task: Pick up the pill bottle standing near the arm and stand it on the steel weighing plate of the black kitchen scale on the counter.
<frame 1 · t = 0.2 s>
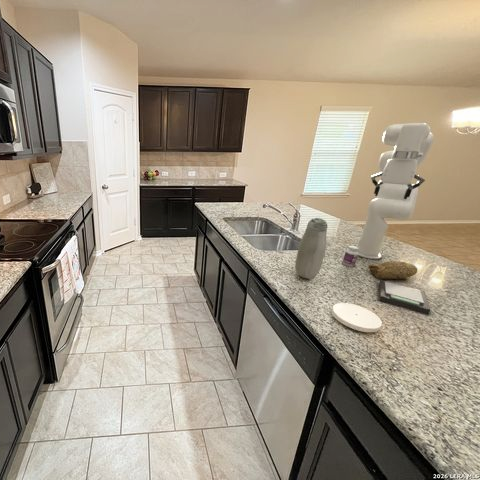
hand: (390, 197, 110), 36 cm above the table, tool pointing down, fingers open, 9 cm apart
pill bottle: (348, 264, 130), on the table
gray vase: (304, 276, 118), on the table
plastic lid: (354, 321, 89), on the table
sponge: (391, 275, 119), on the table
scale: (400, 298, 102), on the table
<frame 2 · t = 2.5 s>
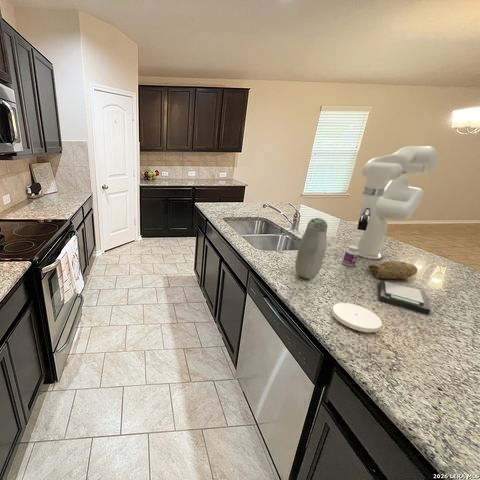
hand: (361, 227, 121), 20 cm above the table, tool pointing down, fingers open, 9 cm apart
nothing on the table moved.
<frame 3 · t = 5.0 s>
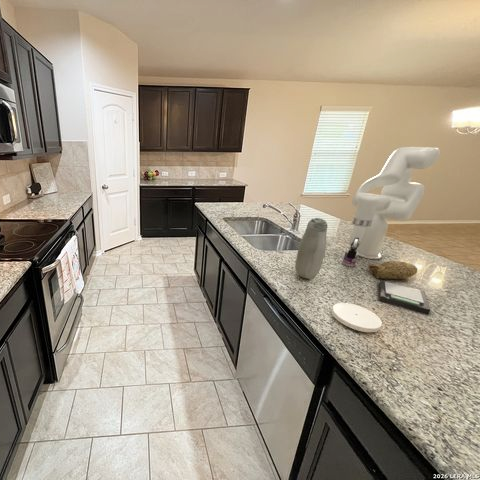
hand: (351, 255, 128), 5 cm above the table, tool pointing down, fingers closed on pill bottle, 5 cm apart
pill bottle: (348, 264, 130), on the table, touching gripper
everything else where it was.
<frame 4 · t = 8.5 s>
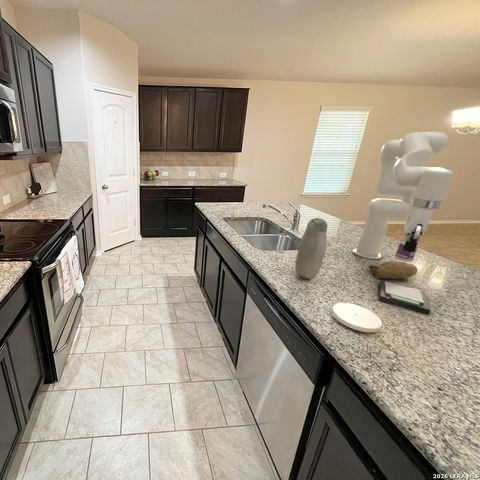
hand: (407, 248, 99), 20 cm above the table, tool pointing down, fingers closed on pill bottle, 5 cm apart
pill bottle: (402, 259, 101), point 15 cm above the table, touching gripper
everything else where it was.
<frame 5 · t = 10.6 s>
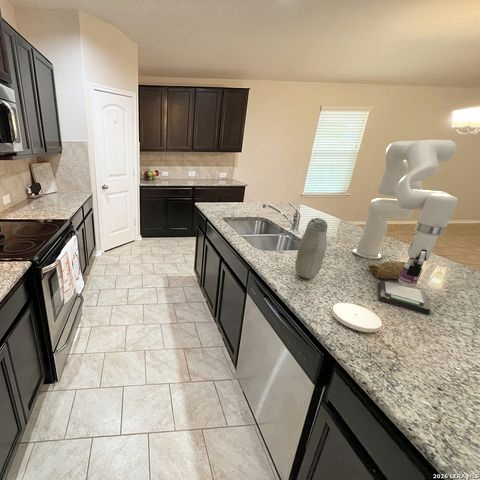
hand: (411, 272, 98), 11 cm above the table, tool pointing down, fingers closed on pill bottle, 5 cm apart
pill bottle: (406, 283, 100), point 6 cm above the table, touching gripper
everything else where it was.
when the fingers open (8 cm above the table, at t = 12.1 s): pill bottle stays where it is, resting on scale.
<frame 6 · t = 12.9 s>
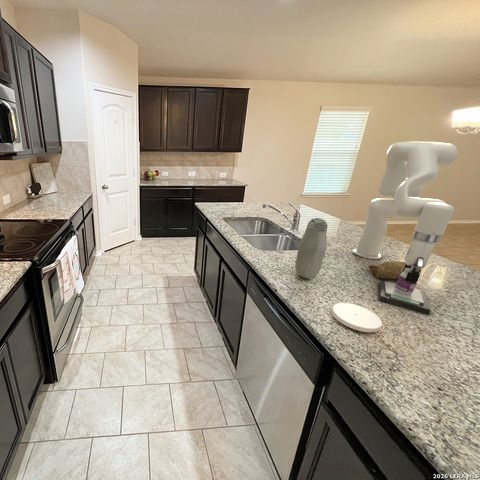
hand: (409, 277, 99), 9 cm above the table, tool pointing down, fingers open, 9 cm apart
pill bottle: (402, 291, 102), point 3 cm above the table, touching scale
everything else where it was.
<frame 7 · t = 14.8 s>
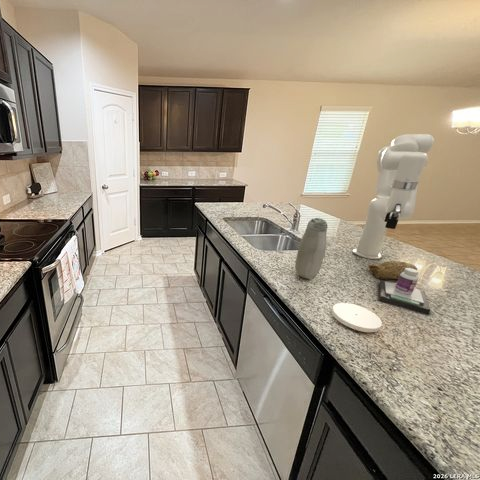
hand: (389, 225, 109), 25 cm above the table, tool pointing down, fingers open, 9 cm apart
nothing on the table moved.
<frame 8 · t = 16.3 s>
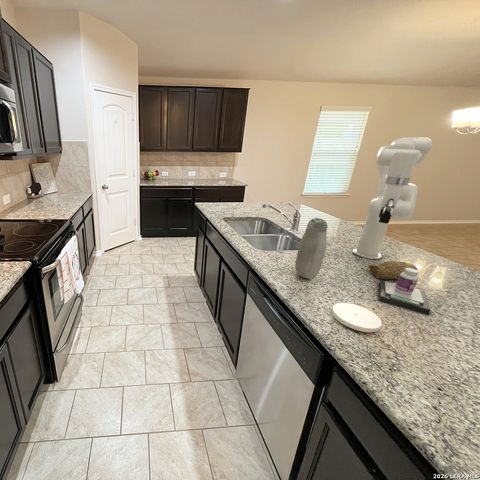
hand: (383, 220, 112), 26 cm above the table, tool pointing down, fingers open, 9 cm apart
nothing on the table moved.
at the end: pill bottle inside the target area on the scale (0.1 cm from its centre), point 2.5 cm above the scale's base; pill bottle tilted 0° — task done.
